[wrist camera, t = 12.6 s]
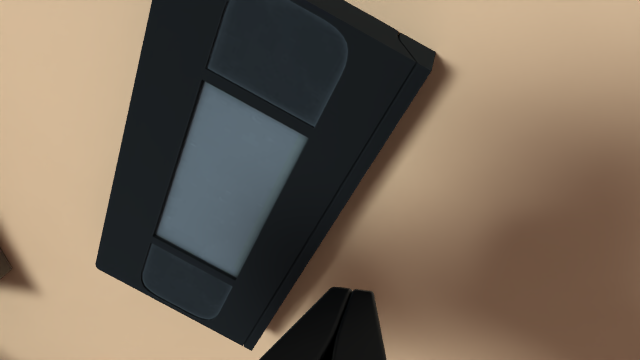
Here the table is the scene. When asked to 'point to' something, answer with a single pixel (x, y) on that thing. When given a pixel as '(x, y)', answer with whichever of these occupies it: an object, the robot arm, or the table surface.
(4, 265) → the hitch block
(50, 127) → the table surface
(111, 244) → the vhs tape
